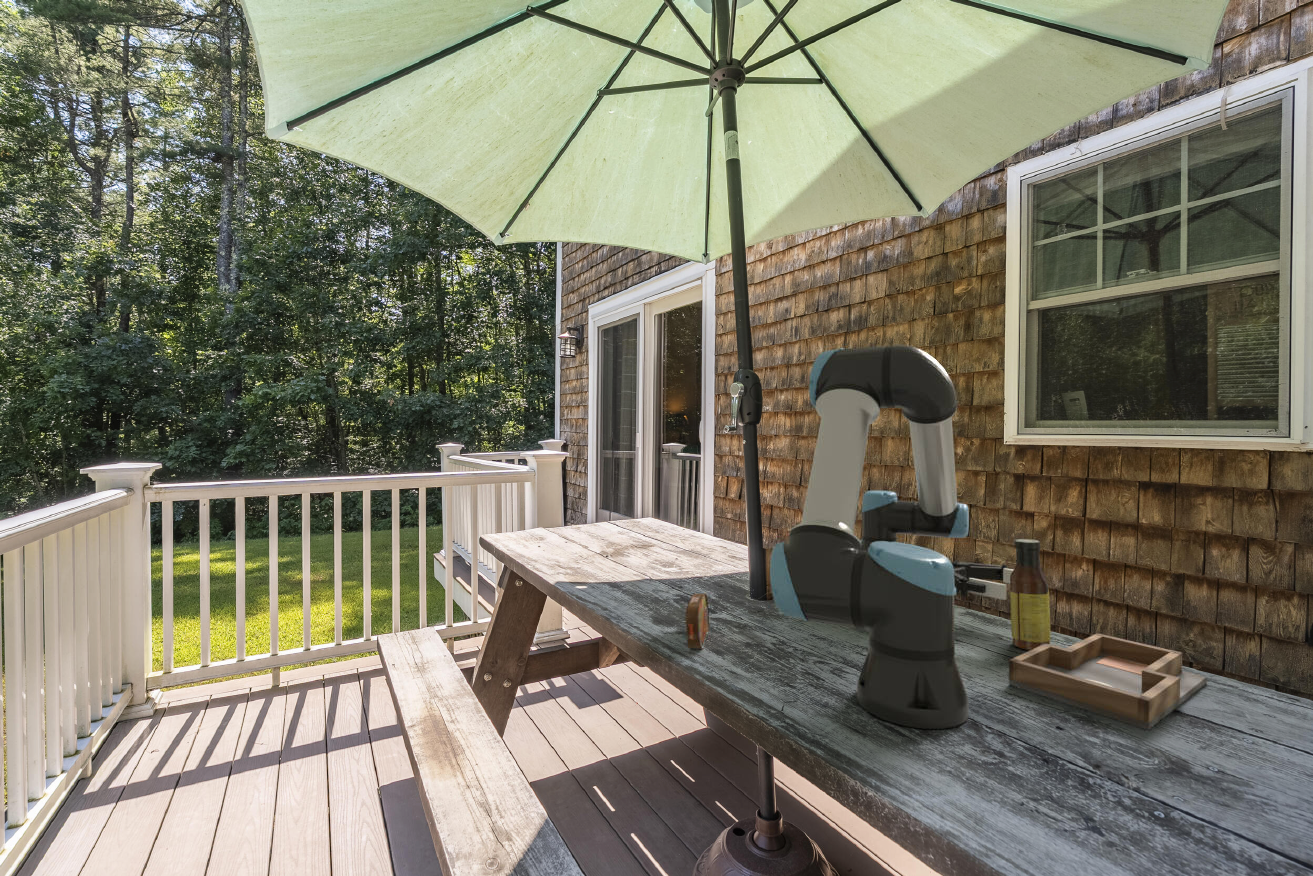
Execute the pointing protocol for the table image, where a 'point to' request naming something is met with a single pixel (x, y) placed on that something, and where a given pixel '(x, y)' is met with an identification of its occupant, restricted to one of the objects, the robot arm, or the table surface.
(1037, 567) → the sauce bottle
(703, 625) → the tin
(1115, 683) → the keyhole guide
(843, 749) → the table surface
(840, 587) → the robot arm
